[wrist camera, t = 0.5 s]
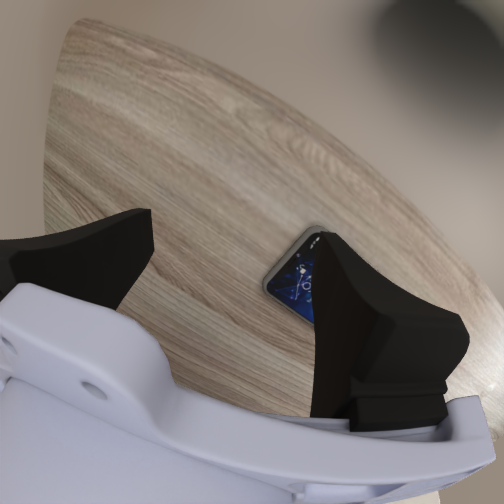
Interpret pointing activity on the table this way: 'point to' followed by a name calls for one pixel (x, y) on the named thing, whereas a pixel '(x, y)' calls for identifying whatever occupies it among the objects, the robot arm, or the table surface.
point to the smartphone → (295, 276)
